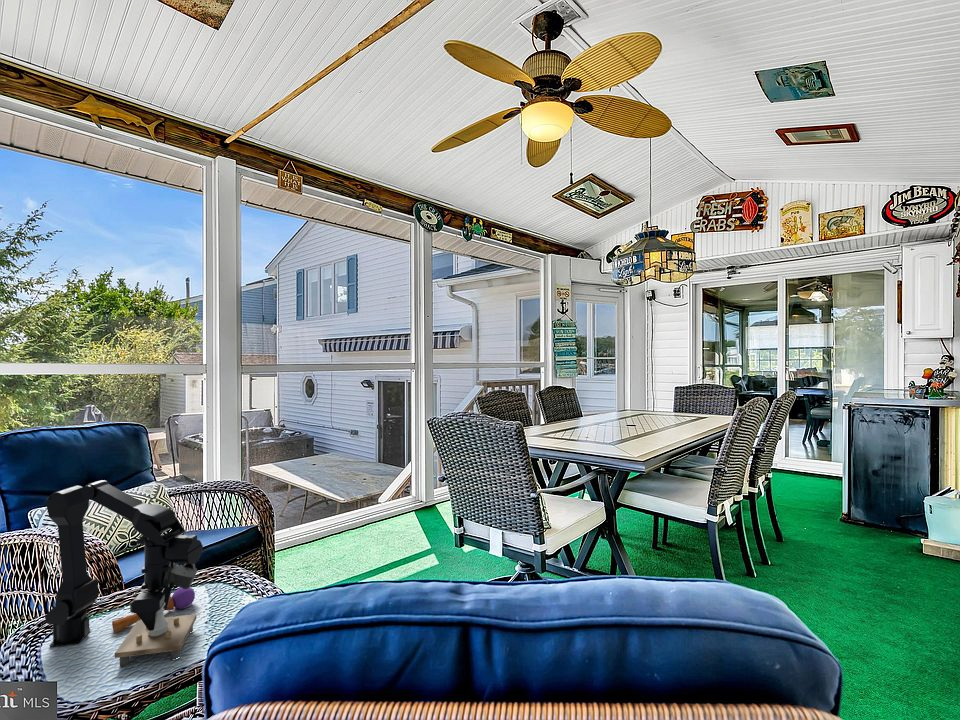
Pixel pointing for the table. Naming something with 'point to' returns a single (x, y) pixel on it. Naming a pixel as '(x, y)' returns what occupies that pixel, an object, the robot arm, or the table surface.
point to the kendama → (178, 600)
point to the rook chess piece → (159, 624)
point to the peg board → (156, 639)
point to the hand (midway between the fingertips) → (158, 619)
